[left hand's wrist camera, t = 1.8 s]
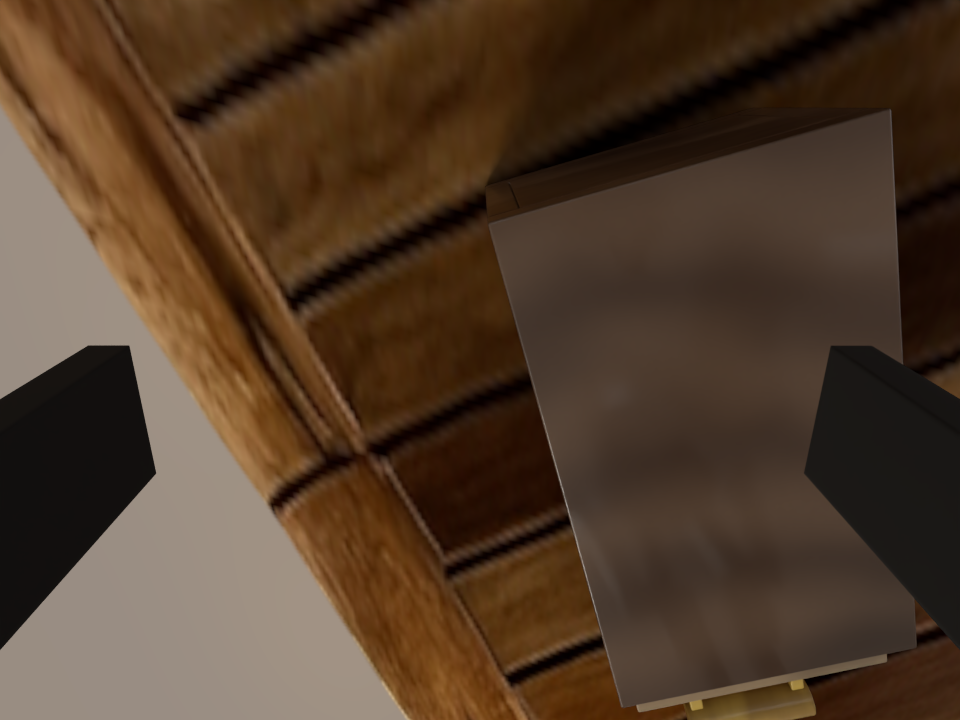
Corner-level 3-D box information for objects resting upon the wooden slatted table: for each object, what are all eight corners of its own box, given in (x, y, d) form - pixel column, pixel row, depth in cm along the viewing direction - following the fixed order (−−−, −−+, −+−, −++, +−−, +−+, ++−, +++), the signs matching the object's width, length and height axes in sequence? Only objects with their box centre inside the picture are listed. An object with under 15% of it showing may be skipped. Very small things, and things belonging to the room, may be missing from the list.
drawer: (812, 627, 36) (894, 756, 29) (626, 667, 37) (661, 800, 30) (758, 186, 27) (857, 215, 20) (517, 254, 28) (529, 304, 21)
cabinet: (801, 505, 34) (917, 648, 25) (585, 555, 35) (621, 709, 26) (754, 107, 27) (892, 107, 18) (484, 185, 28) (487, 223, 19)
